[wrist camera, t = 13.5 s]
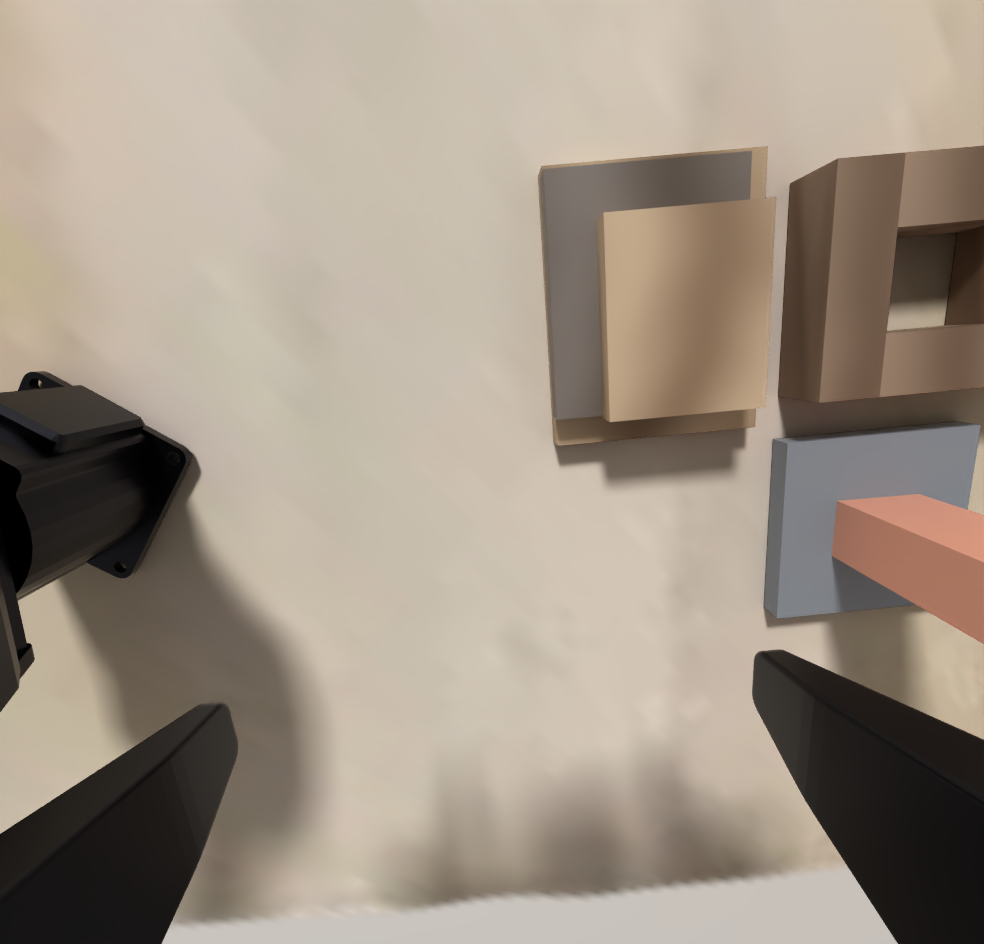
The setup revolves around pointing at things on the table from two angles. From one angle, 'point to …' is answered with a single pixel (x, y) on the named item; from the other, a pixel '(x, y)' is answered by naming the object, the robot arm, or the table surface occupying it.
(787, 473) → the grey mat
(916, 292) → the table surface
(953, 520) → the pink bar
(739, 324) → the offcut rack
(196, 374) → the table surface
